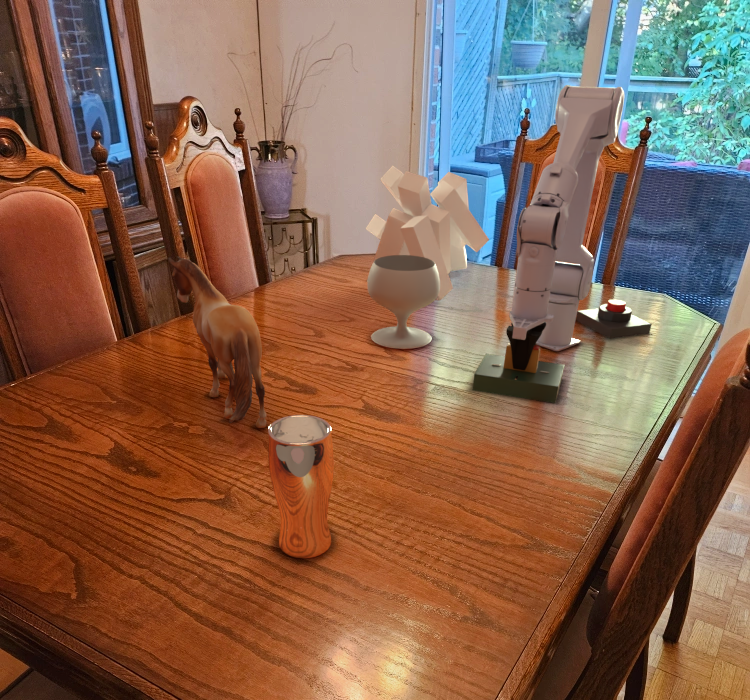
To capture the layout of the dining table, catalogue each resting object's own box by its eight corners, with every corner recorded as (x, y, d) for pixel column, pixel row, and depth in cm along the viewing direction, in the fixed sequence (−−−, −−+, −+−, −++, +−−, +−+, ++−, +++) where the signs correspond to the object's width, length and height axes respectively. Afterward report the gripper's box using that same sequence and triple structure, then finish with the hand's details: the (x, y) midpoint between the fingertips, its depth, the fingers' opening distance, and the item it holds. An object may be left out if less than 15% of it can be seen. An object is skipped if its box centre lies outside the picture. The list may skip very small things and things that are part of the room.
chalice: (355, 345, 130) (355, 267, 122) (381, 323, 141) (383, 250, 133) (423, 357, 126) (428, 276, 118) (444, 333, 137) (450, 258, 128)
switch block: (575, 320, 145) (578, 302, 143) (613, 316, 148) (617, 298, 146) (609, 339, 136) (614, 320, 134) (649, 334, 139) (654, 315, 137)
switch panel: (472, 390, 114) (474, 373, 112) (484, 368, 122) (486, 352, 120) (555, 403, 110) (558, 385, 108) (561, 380, 118) (564, 363, 116)
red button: (602, 308, 141) (604, 300, 140) (616, 307, 142) (618, 298, 141) (613, 313, 138) (615, 305, 137) (627, 312, 139) (629, 303, 138)
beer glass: (276, 526, 80) (267, 414, 72) (334, 524, 81) (332, 413, 72) (274, 562, 75) (264, 445, 66) (336, 560, 75) (334, 444, 67)
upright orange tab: (503, 368, 114) (506, 344, 112) (505, 364, 116) (508, 341, 113) (535, 373, 113) (539, 349, 110) (537, 369, 114) (541, 345, 112)
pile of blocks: (391, 279, 187) (338, 161, 163) (495, 242, 178) (454, 110, 153) (389, 357, 165) (327, 233, 140) (508, 318, 155) (463, 178, 131)
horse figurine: (185, 375, 117) (166, 254, 105) (228, 368, 120) (214, 249, 108) (234, 456, 94) (217, 313, 82) (286, 445, 97) (277, 305, 85)
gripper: (550, 302, 100) (536, 386, 107) (564, 278, 111) (550, 355, 119) (504, 296, 102) (493, 379, 109) (522, 273, 113) (511, 349, 121)
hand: (520, 366), depth 114 cm, fingers closed on upright orange tab, 2 cm apart
